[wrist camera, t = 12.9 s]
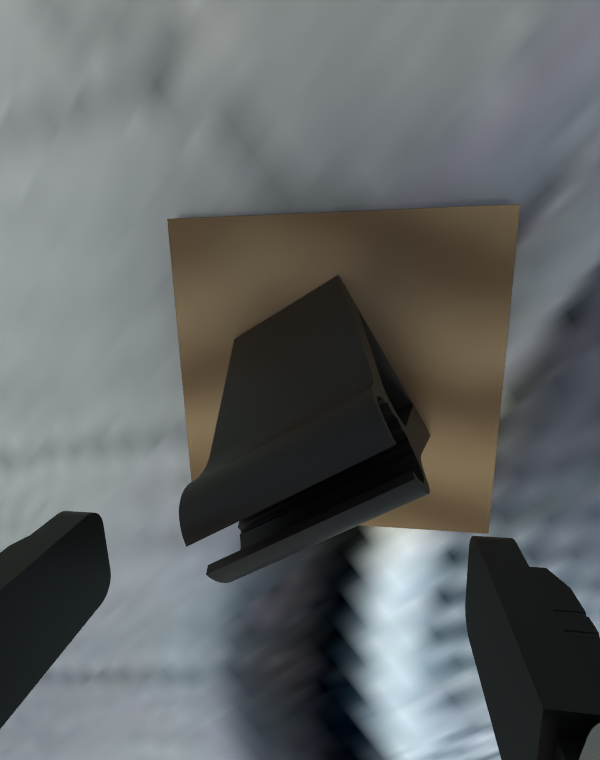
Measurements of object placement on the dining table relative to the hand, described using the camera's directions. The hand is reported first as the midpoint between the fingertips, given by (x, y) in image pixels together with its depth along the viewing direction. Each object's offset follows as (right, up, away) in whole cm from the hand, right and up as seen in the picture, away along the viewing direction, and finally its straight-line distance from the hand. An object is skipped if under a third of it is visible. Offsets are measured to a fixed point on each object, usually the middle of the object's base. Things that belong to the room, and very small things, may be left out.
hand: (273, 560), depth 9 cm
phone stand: (+2, +4, +13) cm, 14 cm away
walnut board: (+2, +4, +14) cm, 15 cm away
